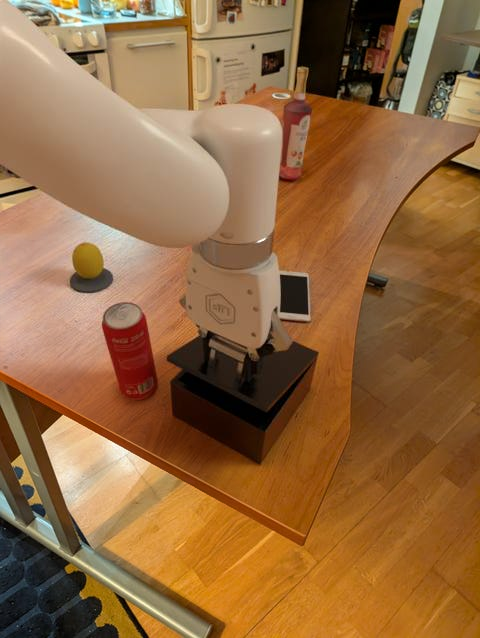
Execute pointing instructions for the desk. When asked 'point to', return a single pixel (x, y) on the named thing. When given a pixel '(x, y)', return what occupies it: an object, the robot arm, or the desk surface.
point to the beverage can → (130, 349)
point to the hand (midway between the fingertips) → (232, 363)
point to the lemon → (87, 260)
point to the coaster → (91, 282)
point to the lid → (229, 368)
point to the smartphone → (294, 296)
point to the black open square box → (236, 413)
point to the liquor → (295, 130)
